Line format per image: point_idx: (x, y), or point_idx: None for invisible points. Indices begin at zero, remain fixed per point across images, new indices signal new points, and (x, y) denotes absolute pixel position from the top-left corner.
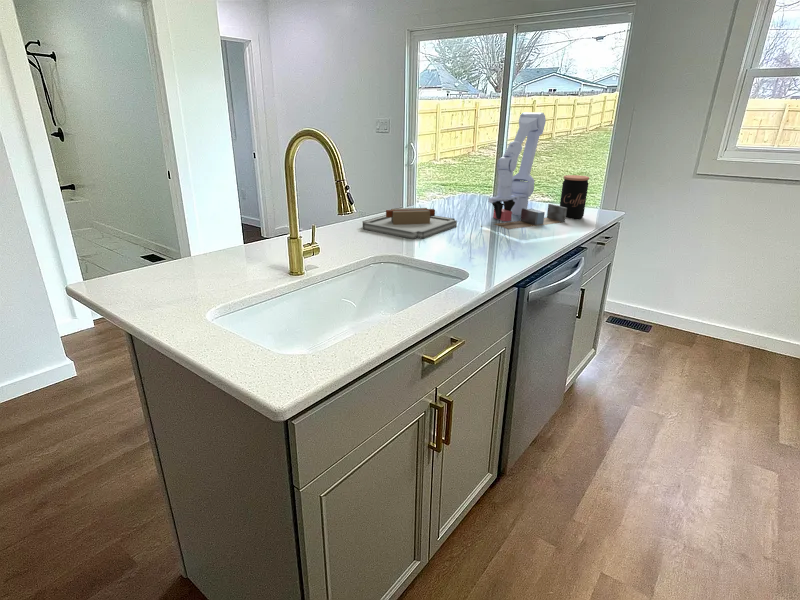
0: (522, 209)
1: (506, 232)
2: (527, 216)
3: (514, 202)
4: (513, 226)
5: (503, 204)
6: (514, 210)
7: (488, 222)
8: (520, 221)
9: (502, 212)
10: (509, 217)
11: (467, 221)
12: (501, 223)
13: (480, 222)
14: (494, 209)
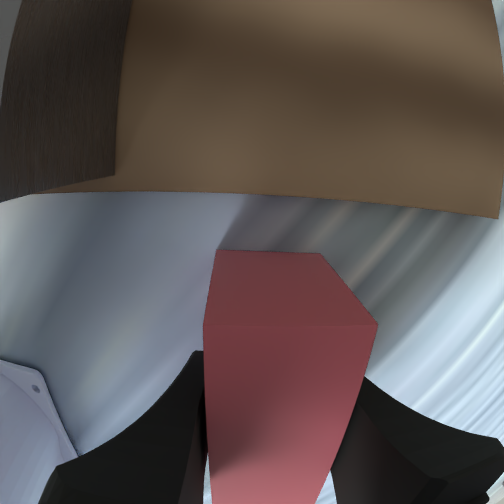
0: (9, 167)
1: (494, 7)
2: (90, 12)
3: (59, 498)
4: (409, 9)
5: (433, 475)
6: (30, 446)
7: (404, 359)
8: (133, 152)
9: (354, 380)
10: (252, 277)
11: (468, 414)
12: (435, 189)
13: (445, 376)
14: (312, 498)
